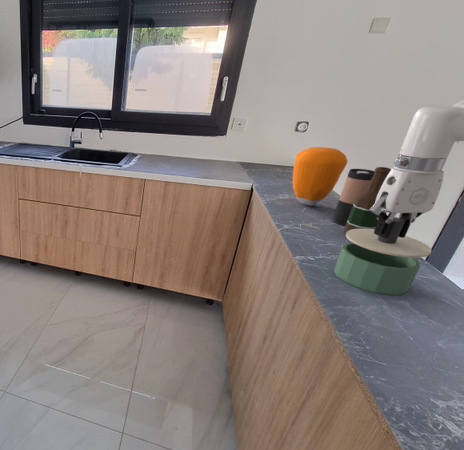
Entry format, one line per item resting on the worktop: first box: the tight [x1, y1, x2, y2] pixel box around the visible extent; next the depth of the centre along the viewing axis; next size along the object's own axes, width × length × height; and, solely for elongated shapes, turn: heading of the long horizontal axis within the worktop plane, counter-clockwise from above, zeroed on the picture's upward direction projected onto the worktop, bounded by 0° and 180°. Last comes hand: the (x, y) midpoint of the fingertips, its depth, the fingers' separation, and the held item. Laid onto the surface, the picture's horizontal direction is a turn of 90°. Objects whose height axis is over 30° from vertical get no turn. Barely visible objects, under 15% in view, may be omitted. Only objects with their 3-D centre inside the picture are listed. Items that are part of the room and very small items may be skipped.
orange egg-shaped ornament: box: [292, 146, 348, 207], centre depth 132 cm, size 17×17×25 cm
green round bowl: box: [333, 241, 421, 296], centre depth 82 cm, size 15×15×8 cm
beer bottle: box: [343, 166, 392, 237], centre depth 103 cm, size 8×8×24 cm
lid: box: [345, 216, 432, 259], centre depth 78 cm, size 16×16×7 cm
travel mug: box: [332, 168, 375, 227], centre depth 114 cm, size 8×8×20 cm
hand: (388, 234), depth 78 cm, fingers closed on lid, 3 cm apart
